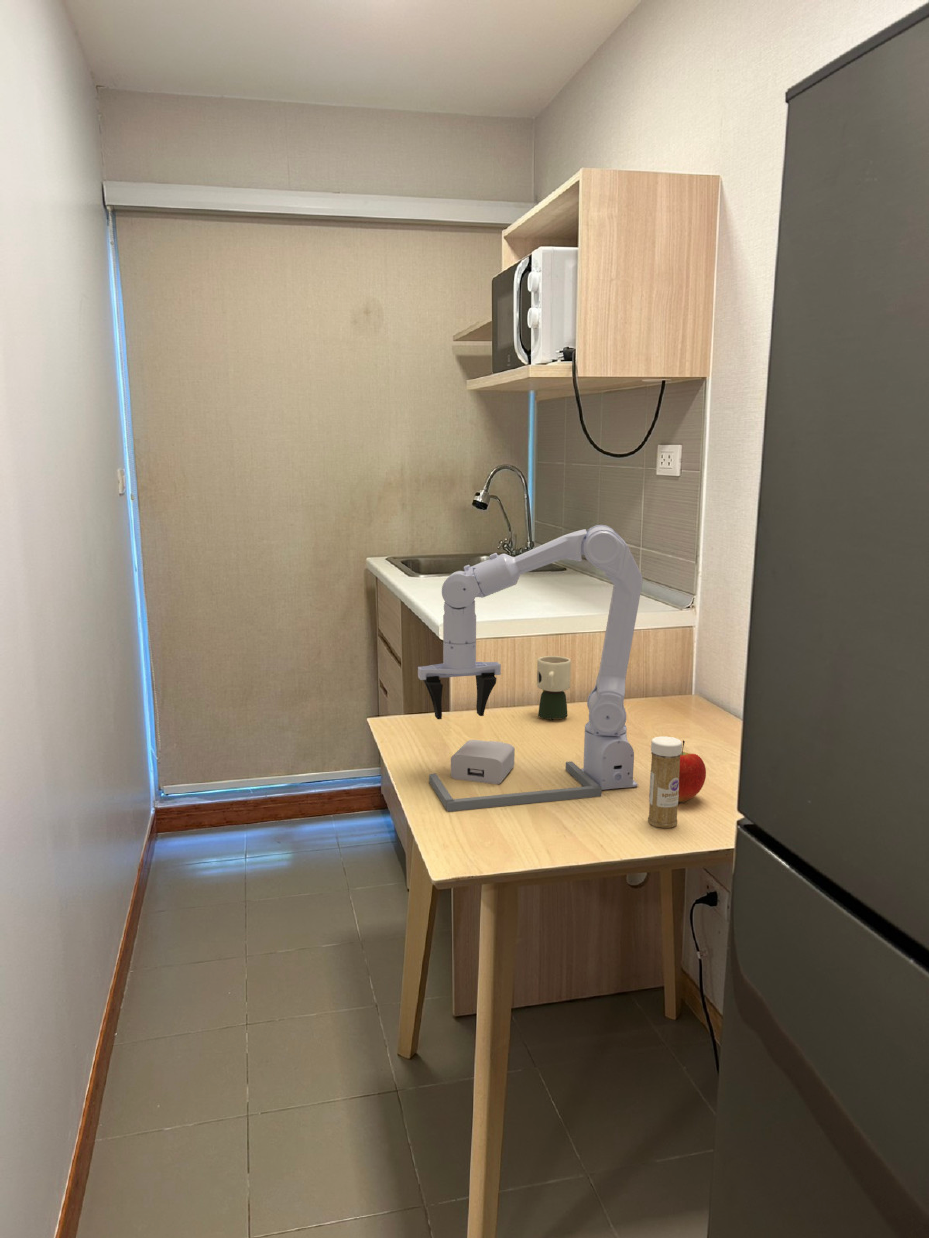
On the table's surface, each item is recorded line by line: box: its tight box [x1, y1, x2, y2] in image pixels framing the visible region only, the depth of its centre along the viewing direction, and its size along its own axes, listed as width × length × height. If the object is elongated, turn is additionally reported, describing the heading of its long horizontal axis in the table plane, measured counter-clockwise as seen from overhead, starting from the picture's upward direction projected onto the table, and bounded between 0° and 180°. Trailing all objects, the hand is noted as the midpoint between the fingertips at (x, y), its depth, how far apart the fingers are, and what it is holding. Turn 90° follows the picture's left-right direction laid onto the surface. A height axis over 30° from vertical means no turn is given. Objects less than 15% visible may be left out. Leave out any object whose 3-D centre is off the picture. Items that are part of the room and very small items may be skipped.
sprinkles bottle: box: [647, 735, 683, 829], centre depth 137 cm, size 5×5×13 cm
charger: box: [450, 739, 516, 785], centre depth 161 cm, size 5×9×15 cm
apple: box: [678, 739, 707, 803], centre depth 146 cm, size 8×8×10 cm
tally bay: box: [428, 761, 603, 812], centre depth 151 cm, size 13×26×2 cm, turn 105°
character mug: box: [536, 655, 572, 721], centre depth 191 cm, size 11×7×13 cm, turn 167°
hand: (459, 716), depth 157 cm, fingers open, 7 cm apart
